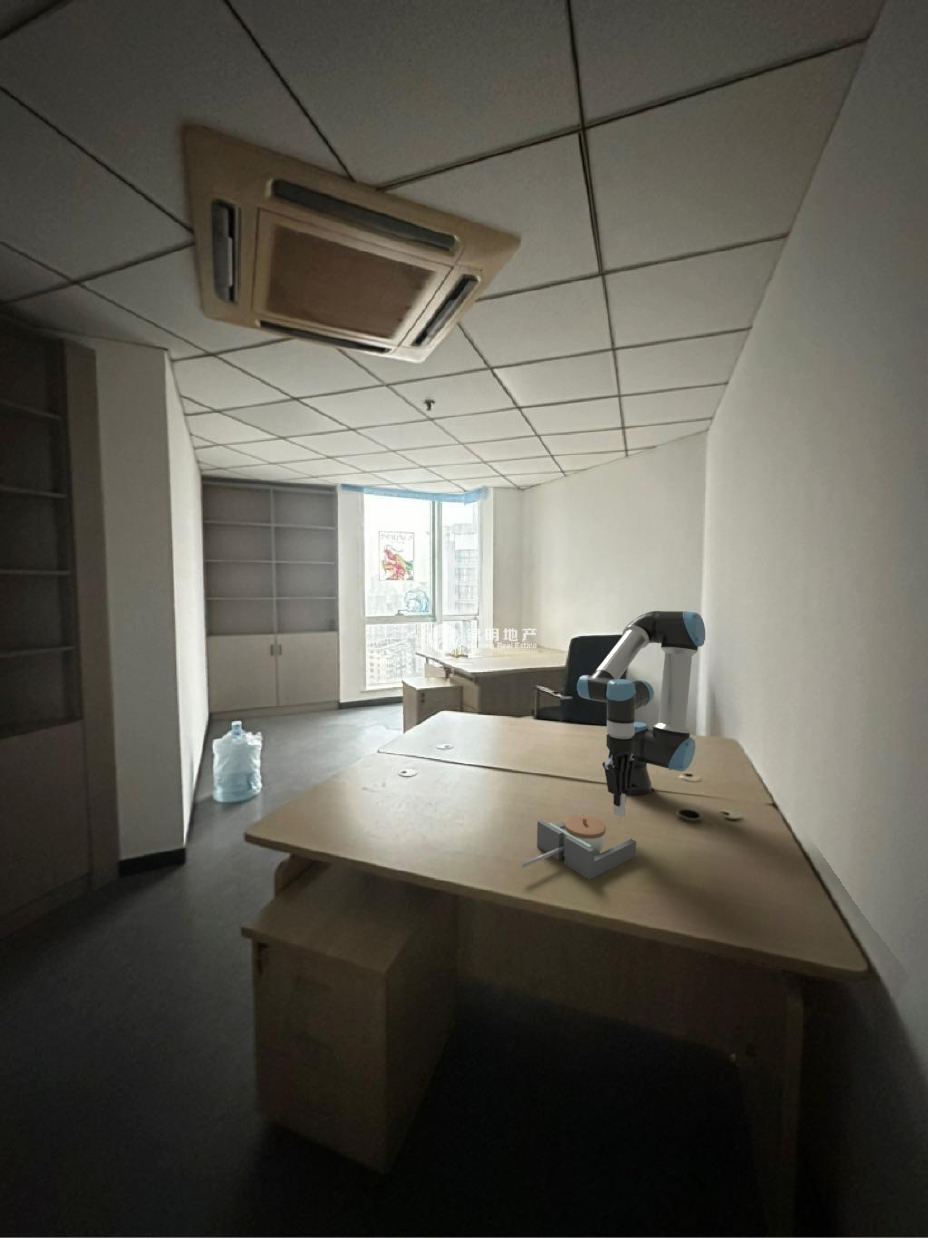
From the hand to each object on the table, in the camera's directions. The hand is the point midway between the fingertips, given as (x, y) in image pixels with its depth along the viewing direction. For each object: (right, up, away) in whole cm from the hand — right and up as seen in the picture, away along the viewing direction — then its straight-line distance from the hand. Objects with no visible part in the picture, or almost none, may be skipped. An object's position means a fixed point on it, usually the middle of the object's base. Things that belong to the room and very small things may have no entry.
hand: (619, 815), depth 131 cm
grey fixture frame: (-11, -6, -8) cm, 15 cm away
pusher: (-24, -6, -16) cm, 30 cm away
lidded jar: (-13, -6, -9) cm, 17 cm away
